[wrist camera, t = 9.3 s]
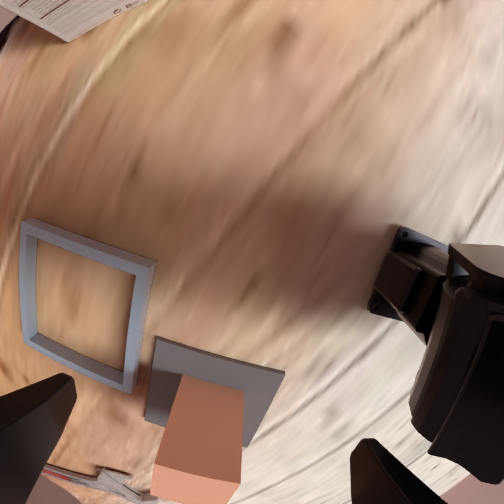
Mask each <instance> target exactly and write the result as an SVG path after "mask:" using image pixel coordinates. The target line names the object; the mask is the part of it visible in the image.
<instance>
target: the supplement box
mask: <svg viewBox="0 0 504 504" xmlns="http://www.w3.org/2000/svg"><path fill="white" fill-rule="evenodd" d="M147 1H148V0H0V7H3V8H5V9H7V10H8V11H10V12H12V13H14V14H16V15H18V16H20V17H22V18H24V19H26V20H28V21H30V22H32V23H34V24H35V25H37V26H39V27H41V28H43V29H44V30H46V31H48V32H50V33H52V34H53V35H55V36H57V37H59V38H61V39H62V40H64V41H66V42H70V41H73V40H74V39H76V38H78V37H79V36H81V35H83V34H84V33H86V32H88V31H90V30H92V29H93V28H95V27H97V26H99V25H100V24H103V23H104V22H106V21H108V20H110V19H112V18H114V17H116V16H118V15H120V14H122V13H124V12H126V11H129V10H131V9H133V8H135V7H137V6H140V5H142V4H144V3H146V2H147Z"/></svg>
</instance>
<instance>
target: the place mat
mask: <svg viewBox="0 0 504 504" xmlns="http://www.w3.org/2000/svg"><path fill="white" fill-rule="evenodd" d="M183 374H184V375H187V376H190V377H194V378H197V379H201V380H204V381H208V382H212V383H215V384H219V385H223V386H227V387H231V388H235V389H239V390H244V413H243V436H242V447H248V445H249V443H250V442H251V440H252V438H253V436H254V434H255V433H256V431H257V429H258V427H259V425H260V423H261V421H262V420H263V418H264V416H265V414H266V412H267V410H268V408H269V406H270V404H271V402H272V400H273V398H274V396H275V394H276V392H277V390H278V388H279V386H280V384H281V382H282V380H283V378H284V376H285V372H284V371H280V370H275V369H271V368H267V367H262V366H258V365H254V364H250V363H246V362H242V361H238V360H234V359H231V358H227V357H223V356H220V355H216V354H213V353H209V352H206V351H202V350H199V349H196V348H192V347H189V346H186V345H183V344H180V343H176V342H173V341H170V340H167V339H164V338H161V337H158V338H157V341H156V347H155V353H154V359H153V365H152V371H151V377H150V384H149V391H148V398H147V405H146V413H145V421H148V422H151V423H154V424H157V425H160V426H163V427H166V425H167V421H168V418H169V415H170V412H171V409H172V406H173V403H174V400H175V397H176V394H177V391H178V388H179V385H180V382H181V379H182V376H183Z"/></svg>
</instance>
